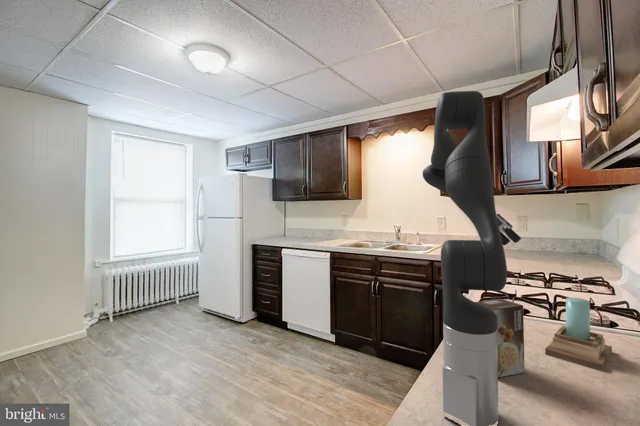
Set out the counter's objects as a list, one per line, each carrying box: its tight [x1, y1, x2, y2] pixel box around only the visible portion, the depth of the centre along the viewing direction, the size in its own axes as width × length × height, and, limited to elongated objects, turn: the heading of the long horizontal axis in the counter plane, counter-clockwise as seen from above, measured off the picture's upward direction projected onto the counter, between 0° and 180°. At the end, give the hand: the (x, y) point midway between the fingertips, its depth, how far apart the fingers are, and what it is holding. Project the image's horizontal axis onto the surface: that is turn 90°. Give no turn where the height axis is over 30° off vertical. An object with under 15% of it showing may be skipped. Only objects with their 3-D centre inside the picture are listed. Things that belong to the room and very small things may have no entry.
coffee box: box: [475, 298, 526, 378], centre depth 73 cm, size 9×6×16 cm
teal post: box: [565, 297, 591, 341], centre depth 80 cm, size 5×5×10 cm
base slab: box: [544, 325, 613, 371], centre depth 80 cm, size 14×11×5 cm
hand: (513, 242), depth 89 cm, fingers open, 8 cm apart
